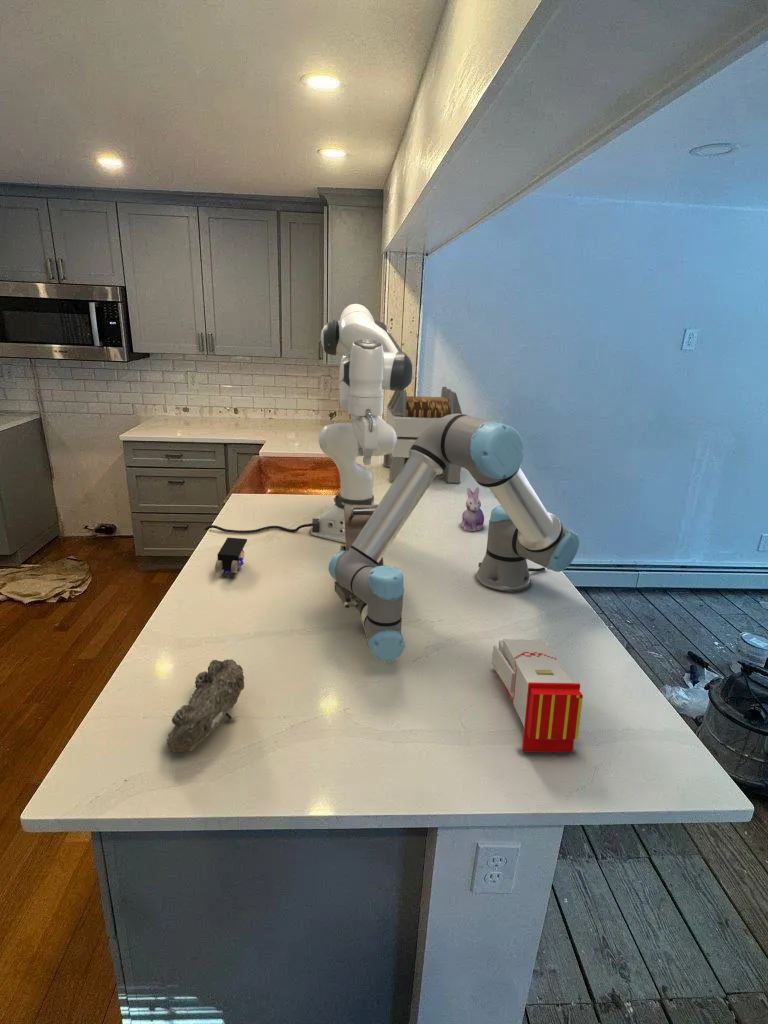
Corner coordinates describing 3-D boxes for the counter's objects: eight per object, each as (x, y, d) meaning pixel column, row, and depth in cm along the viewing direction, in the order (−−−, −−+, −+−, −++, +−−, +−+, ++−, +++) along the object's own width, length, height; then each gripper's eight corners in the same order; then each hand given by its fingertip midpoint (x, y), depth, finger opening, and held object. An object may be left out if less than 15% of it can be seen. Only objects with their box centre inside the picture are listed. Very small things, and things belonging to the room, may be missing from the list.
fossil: (192, 660, 117) (244, 628, 112) (224, 691, 120) (276, 661, 115) (142, 746, 98) (202, 712, 93) (182, 779, 101) (242, 748, 96)
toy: (540, 622, 128) (592, 691, 98) (535, 677, 130) (584, 759, 101) (487, 621, 127) (523, 690, 98) (483, 676, 130) (516, 758, 101)
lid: (343, 506, 154) (347, 497, 146) (378, 505, 156) (384, 497, 147) (346, 568, 150) (350, 563, 142) (382, 567, 152) (388, 562, 143)
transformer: (382, 463, 289) (386, 382, 275) (445, 464, 293) (451, 384, 279) (390, 482, 257) (394, 392, 243) (460, 483, 261) (468, 394, 247)
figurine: (470, 533, 202) (474, 493, 197) (453, 524, 211) (457, 485, 206) (491, 530, 207) (495, 491, 202) (474, 520, 215) (478, 483, 210)
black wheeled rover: (238, 584, 162) (249, 557, 175) (236, 562, 158) (247, 536, 172) (215, 584, 161) (227, 556, 175) (212, 561, 158) (225, 535, 171)
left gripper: (385, 414, 135) (382, 470, 140) (371, 400, 154) (370, 450, 159) (359, 414, 134) (357, 470, 139) (348, 400, 153) (347, 450, 157)
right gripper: (329, 630, 133) (321, 586, 154) (421, 624, 137) (402, 582, 158) (329, 601, 130) (322, 560, 151) (423, 597, 134) (403, 558, 155)
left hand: (364, 459), depth 149 cm, fingers open, 8 cm apart
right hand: (363, 572), depth 154 cm, fingers closed on chest, 10 cm apart
